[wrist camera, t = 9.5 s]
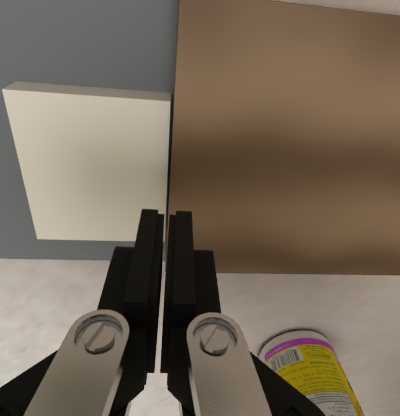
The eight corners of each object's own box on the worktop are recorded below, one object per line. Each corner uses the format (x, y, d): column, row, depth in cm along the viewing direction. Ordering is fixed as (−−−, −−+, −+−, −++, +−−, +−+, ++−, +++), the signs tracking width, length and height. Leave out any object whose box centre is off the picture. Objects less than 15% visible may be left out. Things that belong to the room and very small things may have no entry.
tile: (164, 226, 20) (164, 241, 18) (46, 223, 19) (37, 239, 18) (170, 92, 15) (170, 101, 14) (16, 81, 15) (1, 89, 13)
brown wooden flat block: (388, 250, 23) (410, 275, 21) (165, 245, 21) (165, 272, 19) (509, 29, 15) (562, 34, 13) (178, -10, 14) (180, -11, 12)
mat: (165, 256, 22) (165, 261, 21) (-59, 251, 20) (-64, 257, 20) (180, -39, 13) (180, -40, 13) (-214, -90, 11) (-228, -93, 11)
